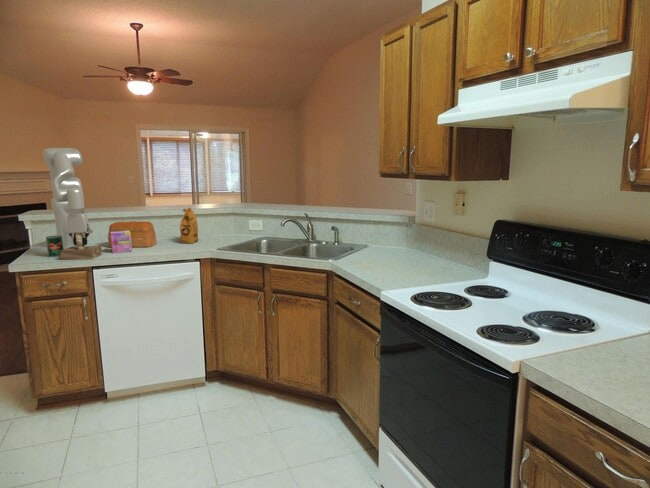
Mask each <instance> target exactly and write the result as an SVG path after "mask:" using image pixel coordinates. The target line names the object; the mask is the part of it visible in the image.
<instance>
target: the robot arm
mask: <svg viewBox="0 0 650 488" xmlns="http://www.w3.org/2000/svg"><path fill="white" fill-rule="evenodd" d="M42 152H43V153H42V155H43V159H44V162H45V165H46V166H47V168H48V170H49V175H50V183H51V191H52V194H53V197H52V199H51V201H50V204H51V208H52V210H53V216H54V224H55V232H56V235H60V236H62V240H63V248H64V249H67V248H69V247H74V246H77V245H76V237H75V233H82V235H83V238H82V241H83V245H84V246H88V237H89V236H90V235H91V234H92V233H93V230H92V228H91V227H90V222H89V219H88V216H87V213H86V212H85V199H84V191H83V183H82V181H81V179H80V177H76V176H75V169H74V166H80V165H82V164H83V155H82V154H81V152H80V150H78V149H76V148H74V147H49V148H45V149H44V150H43V151H42Z"/></svg>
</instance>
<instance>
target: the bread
mask: <svg viewBox="0 0 650 488" xmlns="http://www.w3.org/2000/svg"><path fill="white" fill-rule="evenodd" d="M128 230H129V231H130V235H131V245H132V248H150V247H153V246H155V245H158V244H157V243H158V242H157V237H156V235H157V234H156V231H155V228H154V224H153V223H152V222H151V221H143V220H141V221H131V220H130V221H117V222H114V223H111V224H109V227H108V234H107V236H108V237H107V239H108V243H107V245H108V248H112V243H111V234H110V232H117V231H128Z"/></svg>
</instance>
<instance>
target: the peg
mask: <svg viewBox="0 0 650 488" xmlns="http://www.w3.org/2000/svg"><path fill="white" fill-rule="evenodd" d="M75 237H76V245H77V248H78V249H85V247H84V246H85V245H83V241H82V238H83V235H82V233H75Z"/></svg>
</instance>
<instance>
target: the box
mask: <svg viewBox="0 0 650 488" xmlns="http://www.w3.org/2000/svg"><path fill="white" fill-rule="evenodd" d="M110 234H111V243H112V247H111V251H112V254H119V253H126V252H127V253H128V252H133V247H132V245H131V235H130V231H129V230H128V231H117V232H110Z"/></svg>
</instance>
